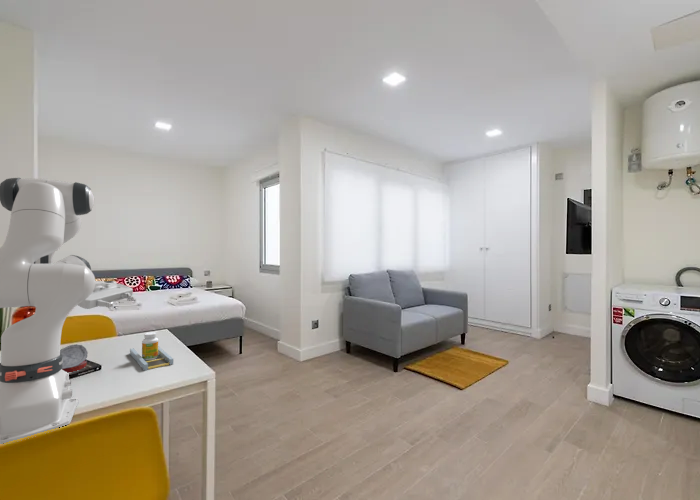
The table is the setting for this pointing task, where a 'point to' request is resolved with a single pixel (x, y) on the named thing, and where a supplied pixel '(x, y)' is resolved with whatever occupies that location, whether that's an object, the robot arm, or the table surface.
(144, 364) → the channel
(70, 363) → the canned food
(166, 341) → the table surface
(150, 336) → the supplement bottle
